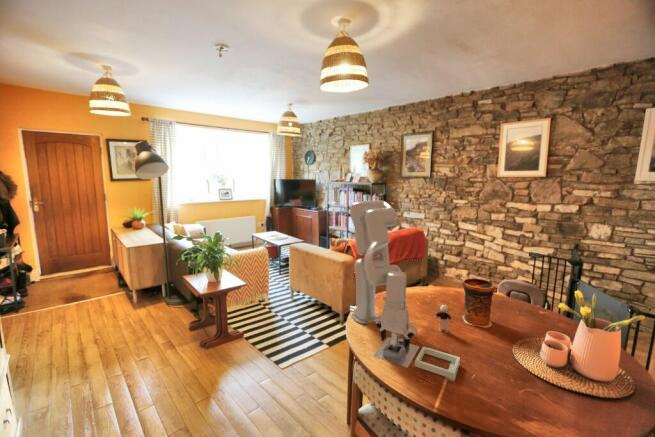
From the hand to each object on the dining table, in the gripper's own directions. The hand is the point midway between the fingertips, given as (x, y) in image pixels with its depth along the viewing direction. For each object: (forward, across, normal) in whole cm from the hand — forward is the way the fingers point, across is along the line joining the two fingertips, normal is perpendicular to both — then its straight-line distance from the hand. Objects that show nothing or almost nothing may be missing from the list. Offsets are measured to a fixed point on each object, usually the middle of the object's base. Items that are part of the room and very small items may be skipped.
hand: (394, 342), depth 120 cm
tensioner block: (+6, 0, +3) cm, 7 cm away
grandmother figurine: (+6, +12, +31) cm, 34 cm away
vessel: (+6, +24, +49) cm, 55 cm away
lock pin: (+5, 0, 0) cm, 5 cm away
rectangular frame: (+6, +16, +3) cm, 17 cm away
